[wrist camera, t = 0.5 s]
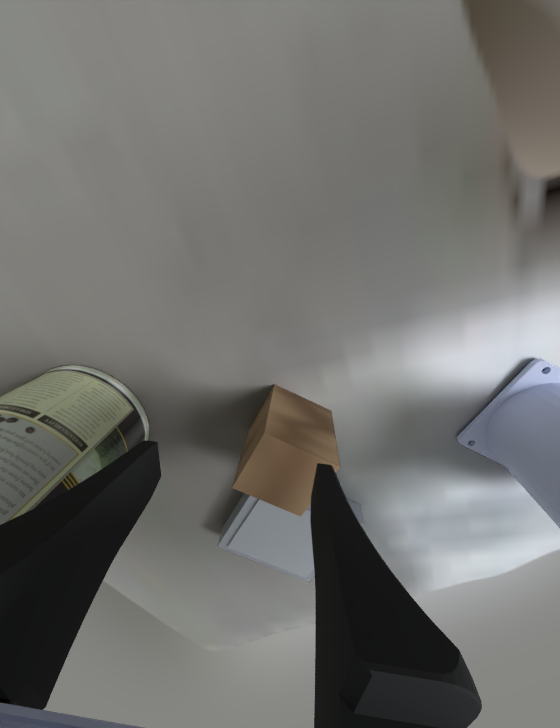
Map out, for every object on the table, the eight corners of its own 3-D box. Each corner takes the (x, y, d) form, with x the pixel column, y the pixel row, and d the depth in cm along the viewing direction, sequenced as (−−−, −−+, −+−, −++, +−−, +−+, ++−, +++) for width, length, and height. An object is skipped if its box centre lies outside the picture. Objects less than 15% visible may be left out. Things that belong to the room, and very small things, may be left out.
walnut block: (331, 410, 22) (340, 467, 16) (301, 453, 24) (300, 516, 18) (274, 383, 21) (264, 433, 16) (248, 430, 23) (232, 488, 18)
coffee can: (172, 448, 25) (31, 672, 12) (81, 473, 27) (-120, 684, 14) (106, 346, 21) (-200, 510, 8) (7, 383, 23) (-356, 559, 10)
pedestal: (360, 504, 26) (365, 526, 24) (308, 561, 30) (309, 584, 28) (263, 462, 25) (259, 482, 23) (222, 527, 29) (216, 548, 27)
